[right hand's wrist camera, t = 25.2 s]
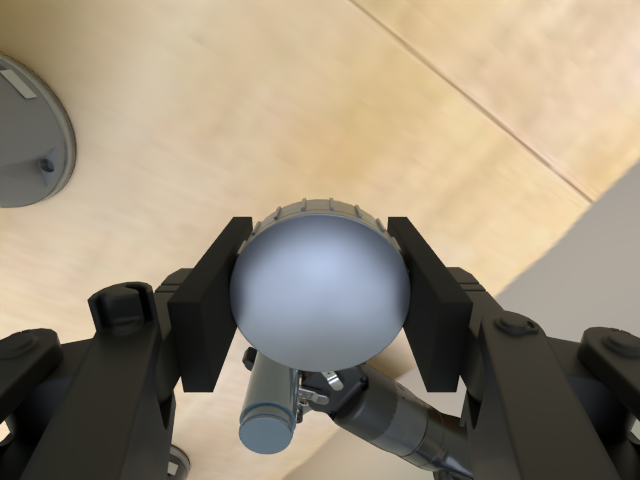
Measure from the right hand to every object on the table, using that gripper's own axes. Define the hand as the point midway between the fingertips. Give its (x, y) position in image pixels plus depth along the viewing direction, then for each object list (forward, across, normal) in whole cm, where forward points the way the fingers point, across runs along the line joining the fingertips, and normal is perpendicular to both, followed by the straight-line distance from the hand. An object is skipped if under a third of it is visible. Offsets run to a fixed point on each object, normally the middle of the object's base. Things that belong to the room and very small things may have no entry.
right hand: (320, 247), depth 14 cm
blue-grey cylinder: (+24, -4, -19) cm, 31 cm away
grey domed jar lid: (-4, 0, 0) cm, 4 cm away
